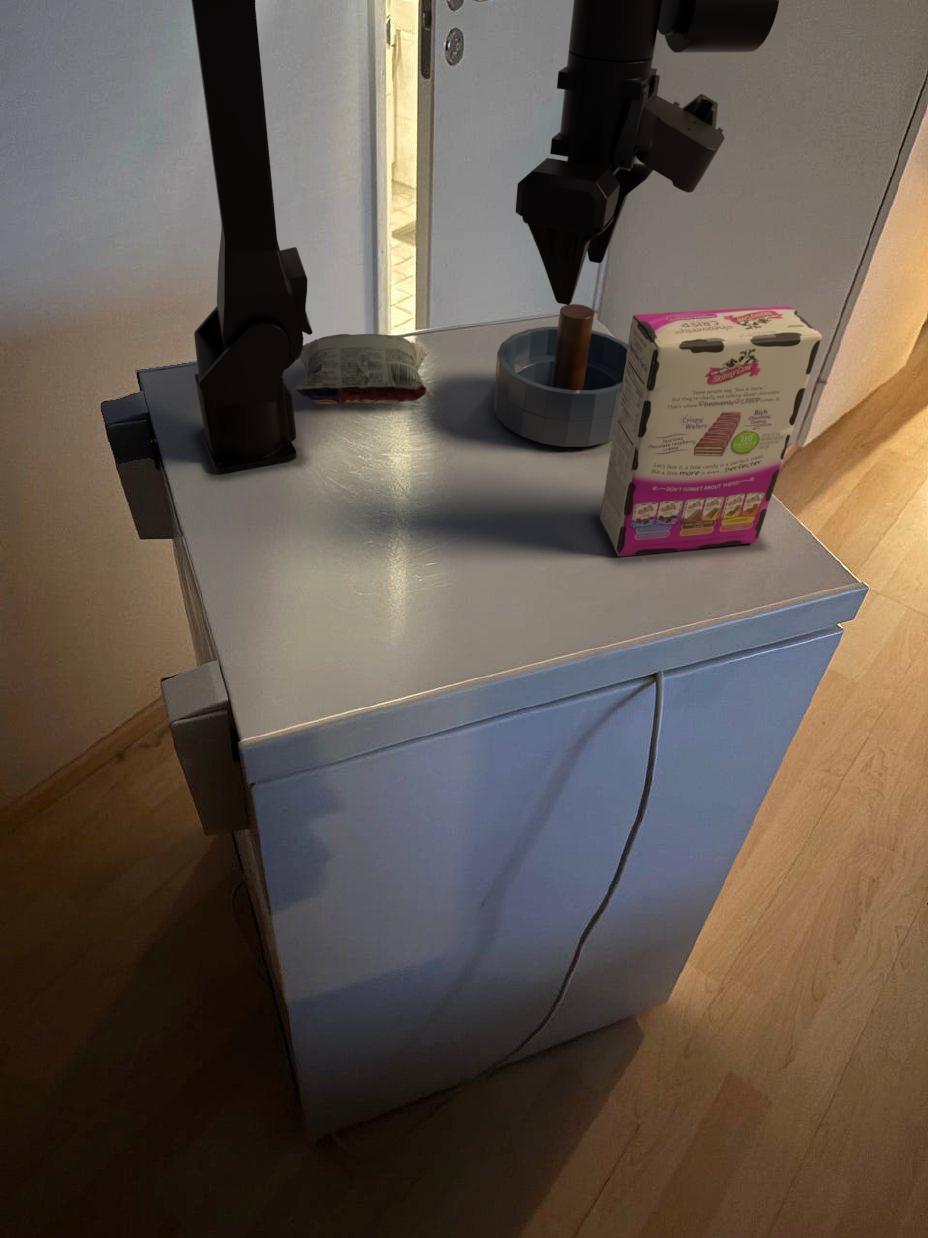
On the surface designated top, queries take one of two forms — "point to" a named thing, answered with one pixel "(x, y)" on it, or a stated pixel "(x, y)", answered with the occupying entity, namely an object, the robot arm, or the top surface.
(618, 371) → the bowl
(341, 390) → the packaged food
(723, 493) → the candy bar box
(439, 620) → the top surface
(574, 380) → the brown wooden cylinder
